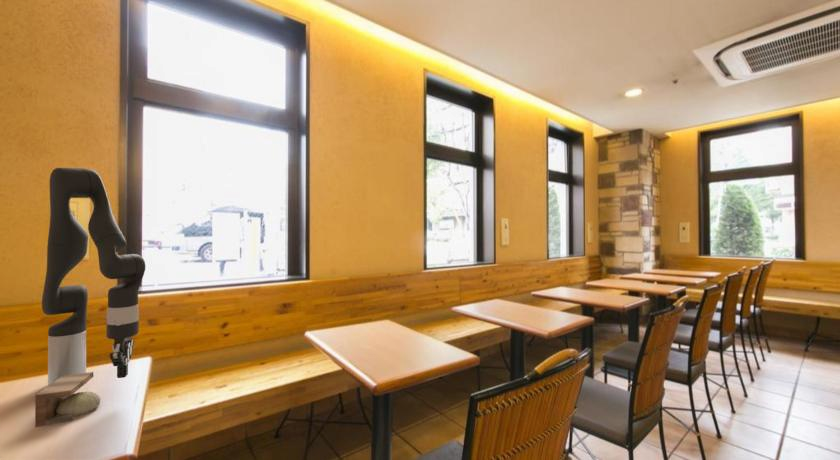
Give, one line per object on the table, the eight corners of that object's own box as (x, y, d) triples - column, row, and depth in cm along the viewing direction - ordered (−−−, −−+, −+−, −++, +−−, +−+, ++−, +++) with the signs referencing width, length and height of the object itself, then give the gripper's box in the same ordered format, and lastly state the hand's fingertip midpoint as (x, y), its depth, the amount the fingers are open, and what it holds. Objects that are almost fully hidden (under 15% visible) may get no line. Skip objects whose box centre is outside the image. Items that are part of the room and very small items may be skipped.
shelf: (62, 403, 106) (62, 375, 106) (93, 399, 109) (93, 371, 109) (35, 427, 93) (35, 395, 94) (70, 421, 96) (70, 390, 96)
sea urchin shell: (73, 415, 96) (59, 391, 98) (59, 432, 98) (45, 409, 99) (110, 399, 105) (97, 378, 107) (97, 415, 106) (84, 394, 108)
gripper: (115, 315, 111) (115, 370, 111) (97, 327, 99) (97, 388, 99) (144, 313, 114) (144, 366, 114) (131, 324, 102) (130, 384, 102)
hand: (122, 376), depth 107 cm, fingers closed
